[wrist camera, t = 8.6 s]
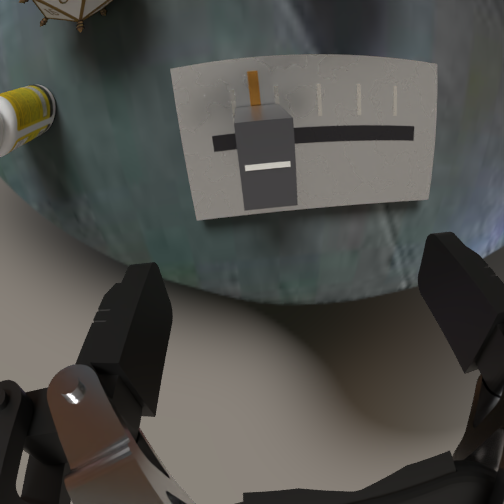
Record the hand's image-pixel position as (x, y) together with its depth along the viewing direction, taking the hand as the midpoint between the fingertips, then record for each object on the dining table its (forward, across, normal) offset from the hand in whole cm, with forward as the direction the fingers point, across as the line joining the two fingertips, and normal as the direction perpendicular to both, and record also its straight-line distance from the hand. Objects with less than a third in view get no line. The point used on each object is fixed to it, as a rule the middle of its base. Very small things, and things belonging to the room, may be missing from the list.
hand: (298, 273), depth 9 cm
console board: (+18, -4, 0) cm, 18 cm away
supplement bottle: (+18, +19, -6) cm, 27 cm away
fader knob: (+15, 0, 0) cm, 15 cm away
